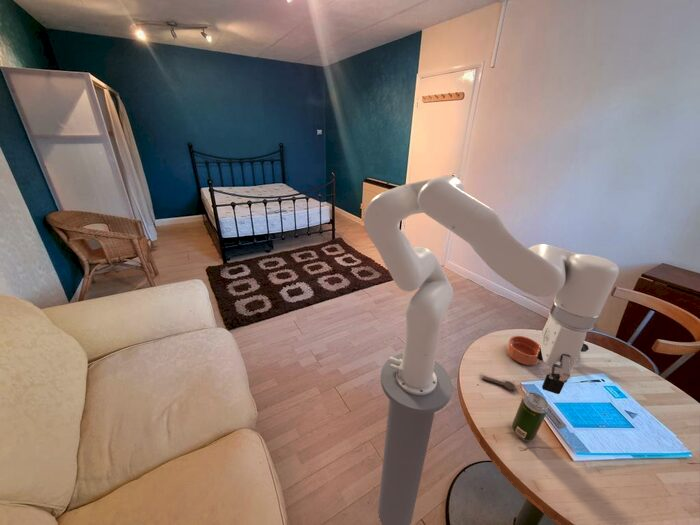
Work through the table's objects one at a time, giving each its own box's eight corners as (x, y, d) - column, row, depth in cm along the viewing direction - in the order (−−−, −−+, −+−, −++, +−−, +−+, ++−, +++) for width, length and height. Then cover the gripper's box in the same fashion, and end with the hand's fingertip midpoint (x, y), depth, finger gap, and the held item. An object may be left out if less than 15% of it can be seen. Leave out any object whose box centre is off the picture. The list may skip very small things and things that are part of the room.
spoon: (482, 381, 88) (482, 379, 88) (482, 374, 90) (483, 373, 90) (514, 392, 84) (515, 390, 84) (514, 385, 87) (514, 383, 87)
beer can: (532, 446, 70) (547, 414, 65) (508, 432, 73) (521, 401, 68) (536, 430, 74) (551, 399, 69) (514, 418, 77) (526, 387, 72)
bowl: (506, 360, 96) (509, 350, 94) (506, 342, 104) (509, 332, 102) (540, 370, 92) (544, 360, 90) (537, 350, 100) (541, 341, 98)
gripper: (545, 290, 66) (525, 346, 73) (558, 333, 52) (531, 397, 59) (584, 297, 63) (560, 355, 70) (609, 346, 49) (575, 412, 56)
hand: (547, 374), depth 65 cm, fingers open, 9 cm apart
